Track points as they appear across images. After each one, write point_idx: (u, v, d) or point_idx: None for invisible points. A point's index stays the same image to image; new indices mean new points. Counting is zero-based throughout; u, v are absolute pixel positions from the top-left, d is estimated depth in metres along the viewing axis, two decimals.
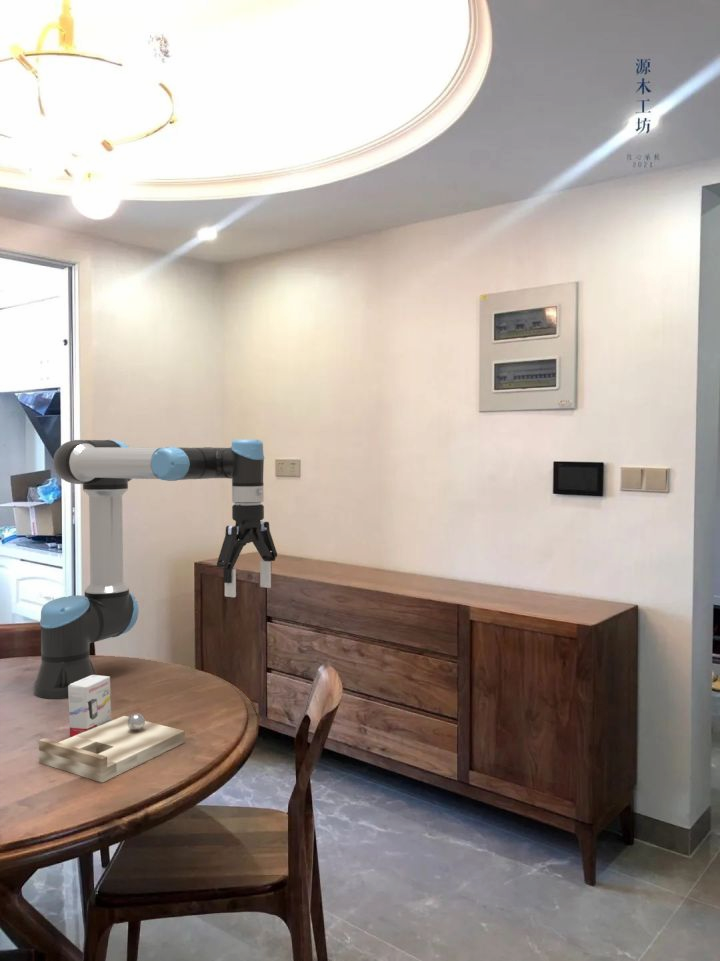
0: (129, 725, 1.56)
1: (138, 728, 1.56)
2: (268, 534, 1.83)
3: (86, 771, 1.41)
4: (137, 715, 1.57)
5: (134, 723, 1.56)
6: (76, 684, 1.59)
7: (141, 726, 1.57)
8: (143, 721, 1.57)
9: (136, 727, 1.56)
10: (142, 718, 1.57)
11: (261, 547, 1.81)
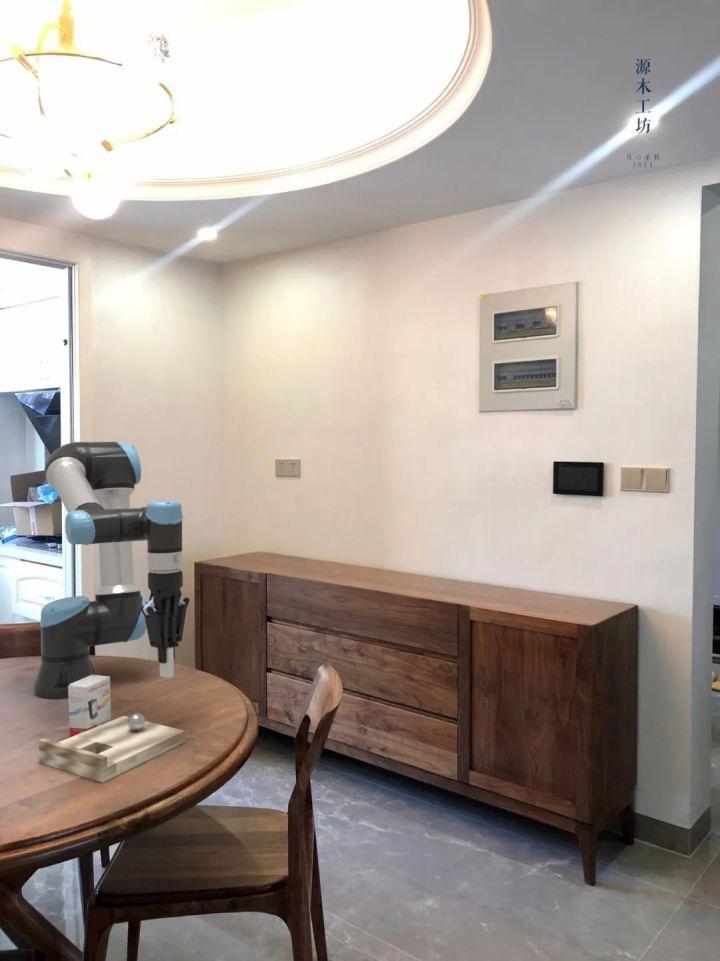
0: (129, 725, 1.56)
1: (138, 728, 1.56)
2: (183, 611, 1.67)
3: (86, 771, 1.41)
4: (137, 715, 1.57)
5: (134, 723, 1.56)
6: (76, 684, 1.59)
7: (141, 726, 1.57)
8: (143, 721, 1.57)
9: (136, 727, 1.56)
10: (142, 718, 1.57)
11: (170, 624, 1.65)
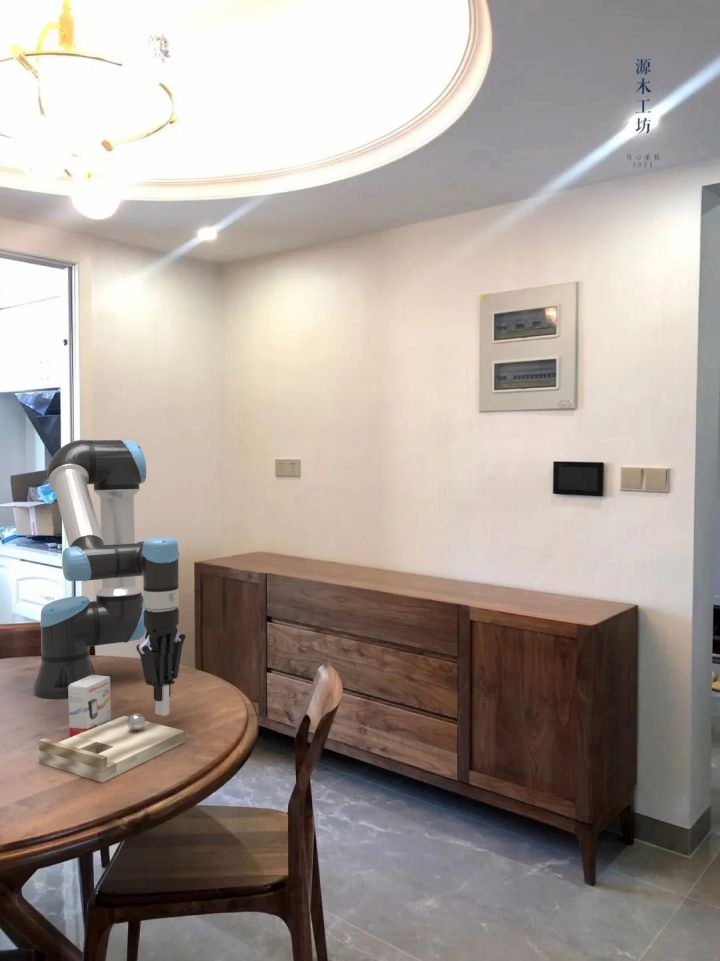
0: (129, 725, 1.56)
1: (138, 728, 1.56)
2: (179, 647, 1.67)
3: (86, 771, 1.41)
4: (137, 715, 1.57)
5: (134, 723, 1.56)
6: (76, 684, 1.59)
7: (141, 726, 1.57)
8: (143, 721, 1.57)
9: (136, 727, 1.56)
10: (142, 718, 1.57)
11: (166, 661, 1.64)
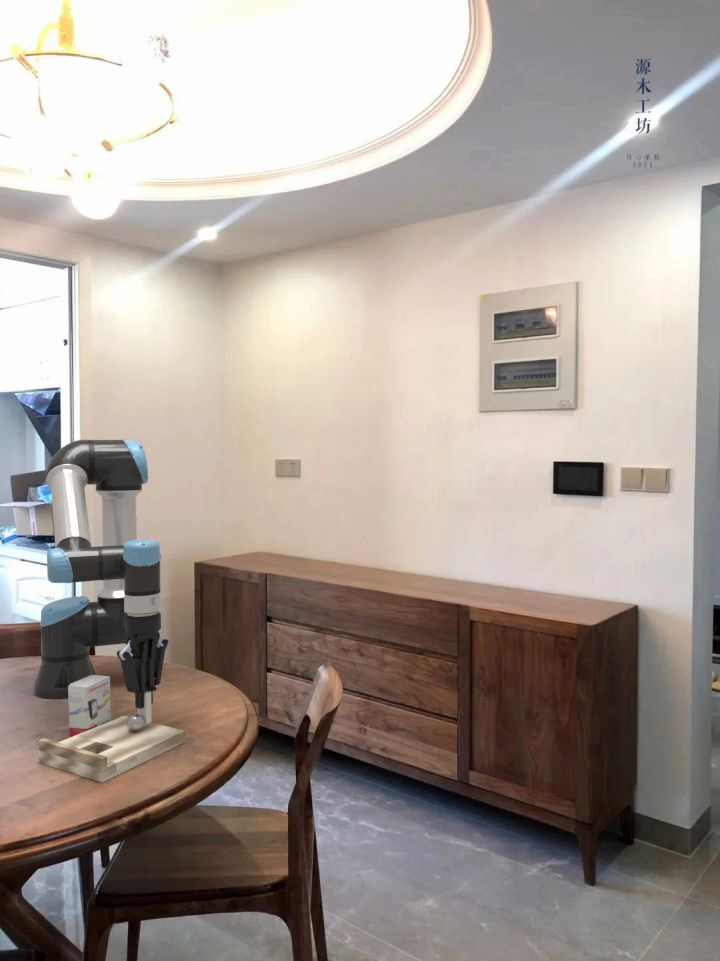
0: (128, 727, 1.56)
1: (138, 729, 1.56)
2: (161, 653, 1.62)
3: (86, 771, 1.41)
4: (135, 716, 1.56)
5: (133, 725, 1.55)
6: (76, 684, 1.59)
7: (140, 726, 1.56)
8: (142, 721, 1.57)
9: (136, 728, 1.56)
10: (141, 719, 1.57)
11: (148, 667, 1.59)
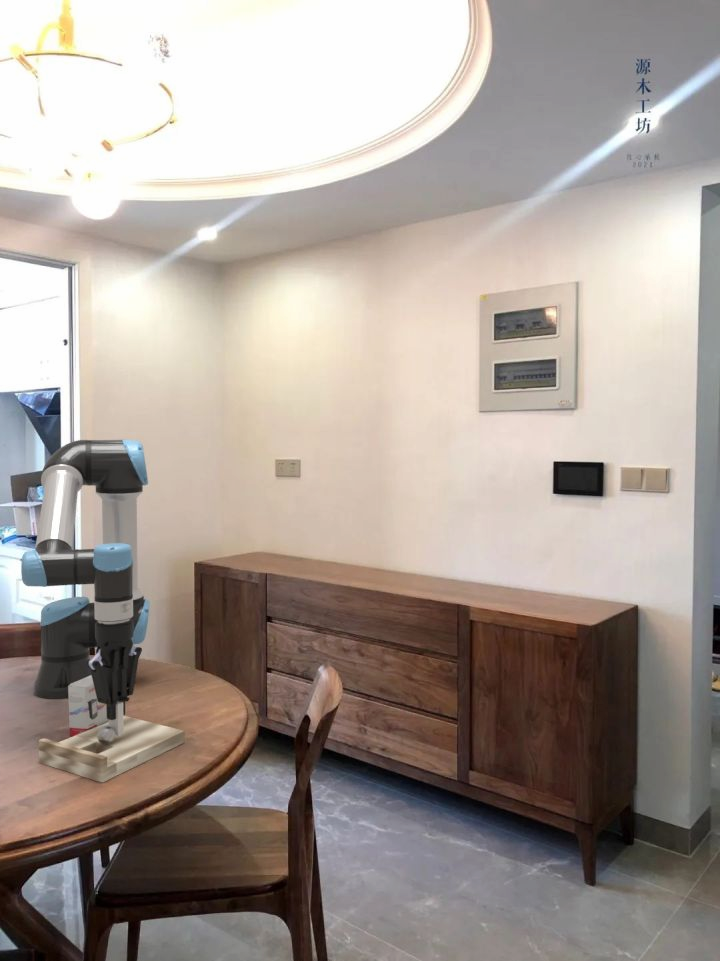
0: None
1: (110, 730, 1.50)
2: (134, 662, 1.55)
3: (86, 771, 1.41)
4: None
5: None
6: (76, 684, 1.59)
7: (110, 734, 1.49)
8: (111, 739, 1.50)
9: (112, 729, 1.50)
10: None
11: (120, 677, 1.52)
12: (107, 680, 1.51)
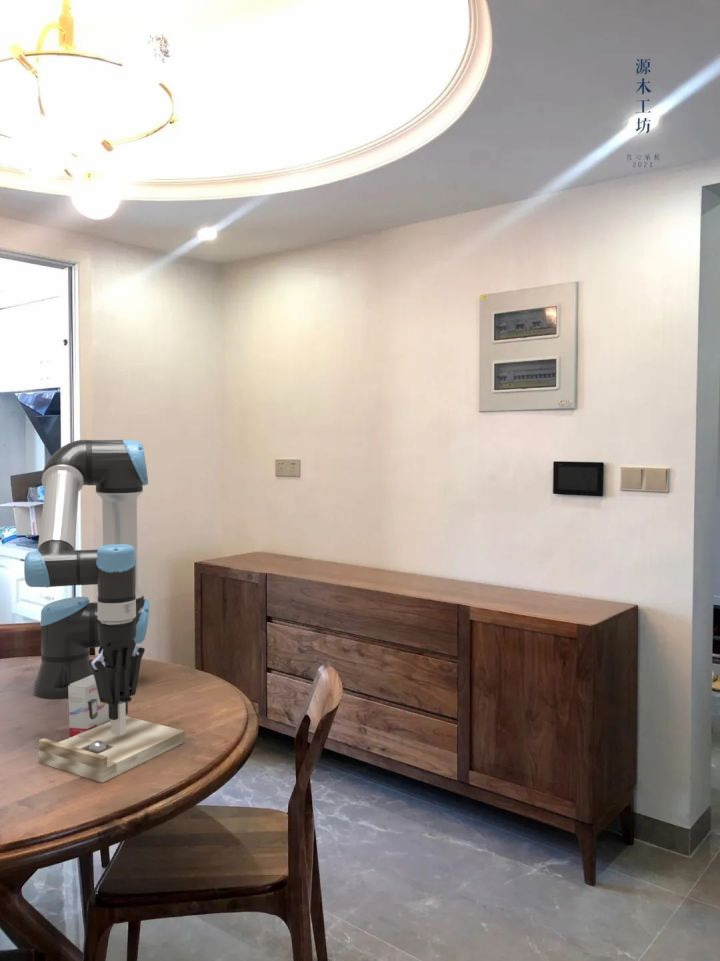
0: (91, 746, 1.48)
1: (97, 753, 1.47)
2: (137, 662, 1.56)
3: (86, 771, 1.41)
4: (103, 742, 1.49)
5: (96, 745, 1.47)
6: (76, 684, 1.59)
7: None
8: None
9: (96, 751, 1.47)
10: (106, 747, 1.49)
11: (123, 677, 1.53)
12: (109, 680, 1.51)
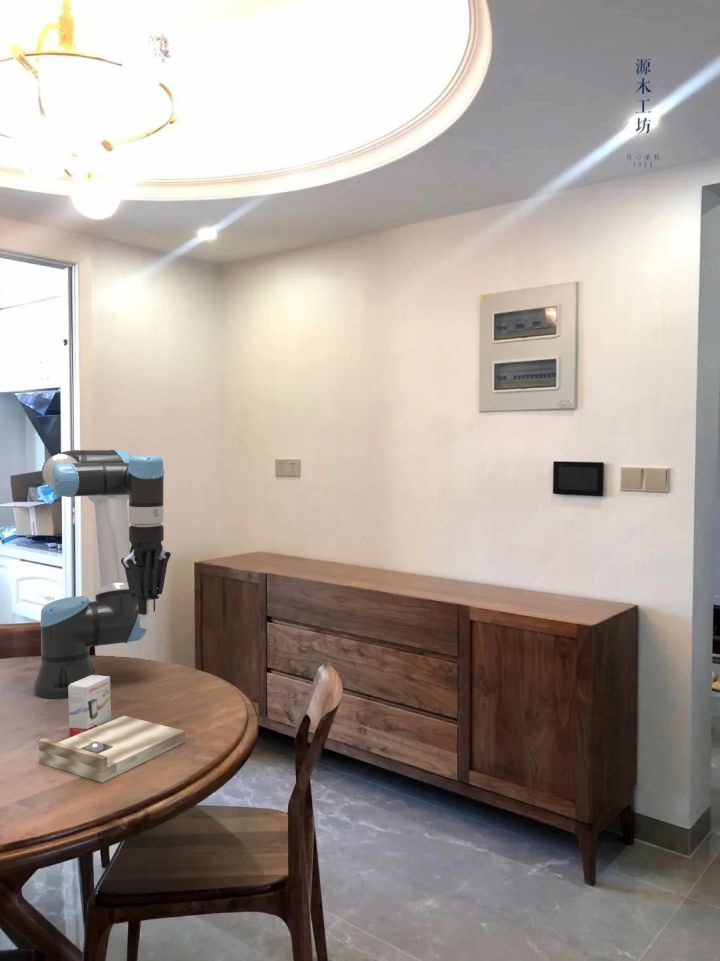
0: (87, 750, 1.47)
1: None
2: (164, 564, 1.71)
3: (86, 771, 1.41)
4: (98, 743, 1.48)
5: (92, 749, 1.47)
6: (76, 684, 1.59)
7: None
8: (102, 751, 1.48)
9: None
10: (102, 747, 1.48)
11: (151, 576, 1.68)
12: (139, 578, 1.66)
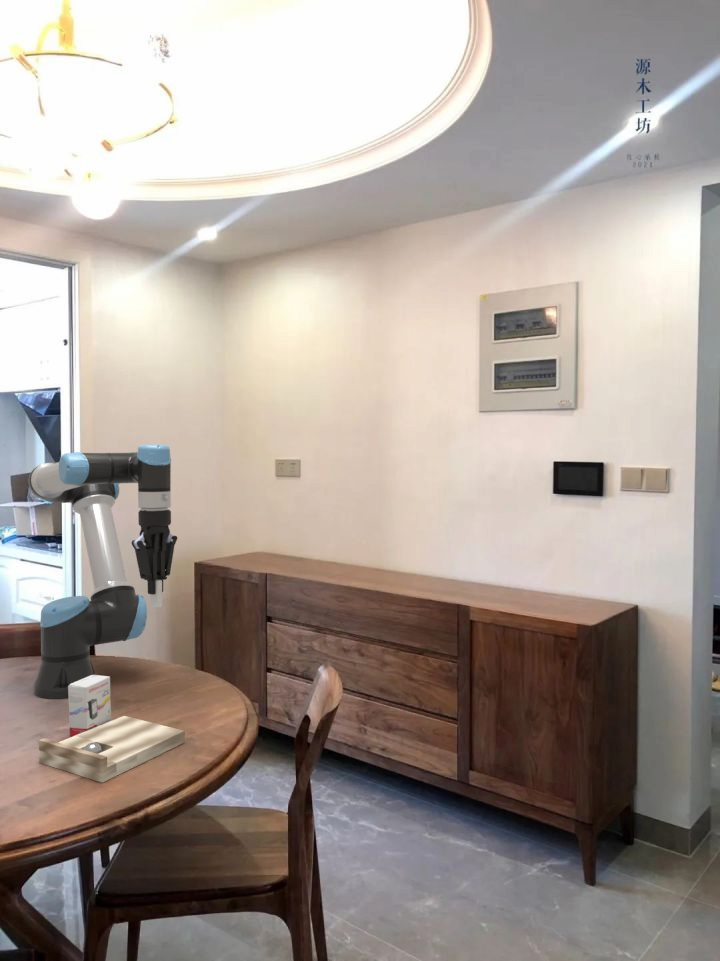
0: None
1: None
2: (171, 547, 1.81)
3: (86, 771, 1.41)
4: (93, 745, 1.47)
5: None
6: (76, 684, 1.59)
7: None
8: (99, 752, 1.47)
9: None
10: (99, 748, 1.47)
11: (159, 558, 1.78)
12: (148, 560, 1.76)
